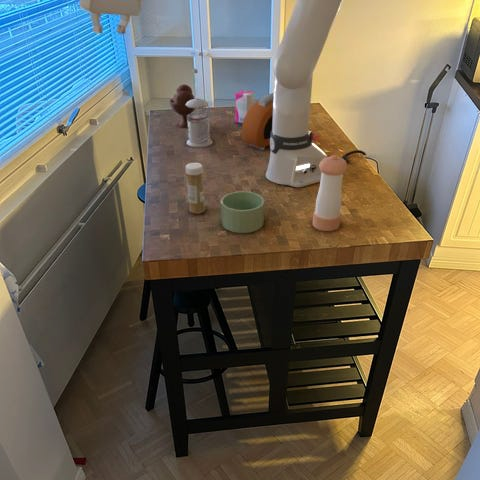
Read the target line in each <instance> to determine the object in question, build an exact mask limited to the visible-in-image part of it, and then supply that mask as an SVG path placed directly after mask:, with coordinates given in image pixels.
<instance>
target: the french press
mask: <svg viewBox="0 0 480 480" xmlns="http://www.w3.org/2000/svg"><path fill="white" fill-rule="evenodd" d="M198 73H199V71H198V69H197V68H193V69H192V74H194V81H195V82H194V83H197V76H196V74H198ZM197 91H198V90H197V87H195V94H196V95H195V96H196V97H195V99H192V100H190V101H188V102H187V103H186V106H187V107H189V108H195V109H196V111H197V112H192V113H191V114H188V115H187V121H188V127H187V133H188V140H186V145H187V146H189V147H193V148H204V147H208V146H211V145H212V144H213V140H212V139H211V137H210V122H211V119H212V111H211V108H210V106H209V102H208V100H205V99H202V98H198V92H197ZM207 108H208V109H207ZM199 109H202V110H206V113H205V112H199ZM208 110H209V114H208V113H207V112H208ZM208 115H209V118H208Z"/></svg>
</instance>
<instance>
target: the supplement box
mask: <svg viewBox="0 0 480 480" xmlns="http://www.w3.org/2000/svg"><path fill="white" fill-rule="evenodd" d="M234 96H235V97H234V100H235V124H239V125H243V121H244V118H245V116H246V114H247V112H248V110H249V109H250V108H251V106H252V105H253V104H254V103H255V92H254V91H250V90H240V91H238V92H235V95H234Z"/></svg>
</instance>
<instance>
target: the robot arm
mask: <svg viewBox="0 0 480 480" xmlns="http://www.w3.org/2000/svg"><path fill="white" fill-rule="evenodd" d="M343 2H344V0H296V2H295V4H294V7H293V8H292V12H291V15H290V17H289V20H288V23H287V25H286V28H285V31H284V33H283V35H282V37H281V41H280V43H279V45H278V46H277V49H276V52H275V55H274V60H273V63H272V65H273V66H272V68H273V70H272V71H273V74H274V85H273V86H274V87H273V88H274V89H273V93H274V100H273V122H272V130H271V137H270V145H269V149H270V154H269V160H268V164H267V169H266V172H265V178H266V179H267V180H268V181H270V182H271V183H274V184H277V185H278V184H279V185H284V186H291V187H294V188H303V187H306V186H310V185H313V184H314V185H315V184H317V183H320V181H321V173H322V172H321V171H320V168H319V164H320V162H321V161H322V159H324V158H326V157H331V156H332V155H327V154H326V152H324V150H323V149H321V148H320V147H319V146H318V145H316V142H318V141H319V140H320V136H319V134H317V133H315V132H312V131H311V130H309V129H310V114H311V103H312V102H311V101H312V89H313V77H314V71H315V69H316V67H317V64H318V62H319V59H320V56H321V54H322V52H323V50H324V47H325V44H326V42H327V40H328V37H329V34H330V31H331V29H332V27H333V24H334V23H335V20H336V18H337V16H338V13H339V11H340V8H341V6H342V4H343ZM79 6H80V8H81V10H83V11H85V12H88V13H89V15H90V20H91V22H92V31H93V33H95V34H97V35H99V34H103V28H104V27H103V25H101V22H100V20H101V18H102V14H103V15H116V16H117V15H118V16H119V17H120V21H119V23H118V24H117V25H116V32H117V34H120V35H124V34H126V33H127V32H126V30H127V27H128V25H129V22H130V20H131V16H132V17H138V16H139V15H140V13H141V12H142V7H143V0H79ZM314 142H315V143H314ZM355 154H360V155H362V156H367V153H366V151H363V150H362V149H361V150H360V149H357V150H356V149H355V150H351V151H349V152H346V153H344V154H343V155H342V159H344V160H345V161H346V163H347V164H349V163H350V160H349V158H348V157H349V156H352V155H355Z"/></svg>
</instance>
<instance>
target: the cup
mask: <svg viewBox="0 0 480 480" xmlns="http://www.w3.org/2000/svg"><path fill="white" fill-rule="evenodd" d="M220 214H221V215H220V217H221V218H220V219H221V225H222V227H223V228H224V229H225V230H227V231H229V232H232V233H237V234H247V233H253V232H256V231H259V230H260V229H262V227H263V226H264V222H265V198H264V197H263V196H262V195H261V194H259V193H257V192H253V191H246V190H239V191H233V192H230V193H227V194H225V195H223V196H222V197H221V199H220Z"/></svg>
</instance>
